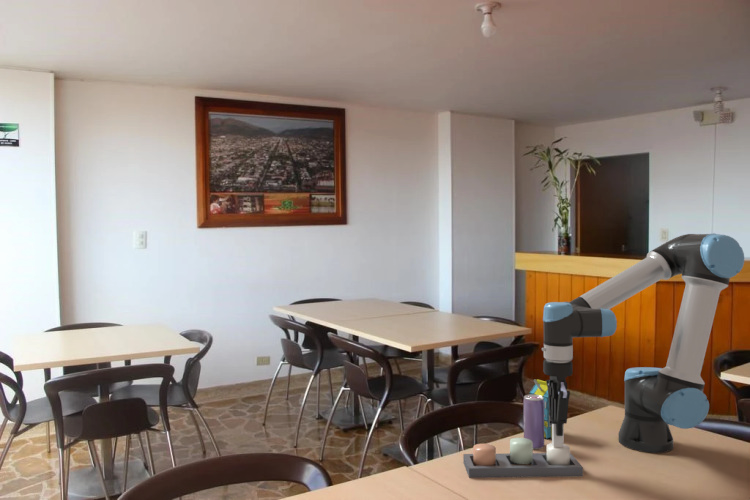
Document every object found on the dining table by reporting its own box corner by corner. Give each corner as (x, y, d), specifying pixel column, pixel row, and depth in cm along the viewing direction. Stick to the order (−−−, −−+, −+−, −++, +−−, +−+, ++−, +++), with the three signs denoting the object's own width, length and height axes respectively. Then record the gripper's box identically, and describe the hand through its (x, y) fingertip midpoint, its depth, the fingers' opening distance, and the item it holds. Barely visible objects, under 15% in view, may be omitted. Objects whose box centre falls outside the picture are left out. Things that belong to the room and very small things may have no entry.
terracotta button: (493, 461, 162) (493, 443, 162) (497, 470, 156) (497, 451, 156) (471, 461, 162) (471, 443, 162) (475, 470, 156) (475, 451, 156)
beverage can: (545, 450, 173) (544, 400, 172) (524, 449, 174) (524, 399, 173) (543, 443, 179) (543, 394, 178) (523, 442, 180) (523, 393, 179)
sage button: (529, 455, 162) (529, 437, 162) (535, 463, 156) (535, 445, 156) (507, 455, 162) (507, 437, 162) (512, 464, 156) (512, 445, 156)
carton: (527, 434, 187) (526, 378, 186) (542, 428, 191) (542, 374, 191) (546, 440, 181) (546, 382, 180) (561, 435, 186) (561, 378, 185)
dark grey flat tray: (570, 461, 164) (570, 452, 164) (582, 476, 154) (582, 467, 154) (463, 462, 164) (463, 453, 164) (469, 477, 154) (469, 468, 154)
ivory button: (565, 460, 162) (565, 442, 162) (572, 469, 156) (572, 450, 156) (543, 460, 162) (543, 442, 162) (550, 469, 156) (550, 451, 156)
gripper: (537, 354, 165) (537, 437, 166) (551, 365, 152) (551, 455, 152) (564, 354, 165) (564, 437, 165) (580, 365, 152) (579, 455, 152)
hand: (557, 445), depth 159 cm, fingers closed
